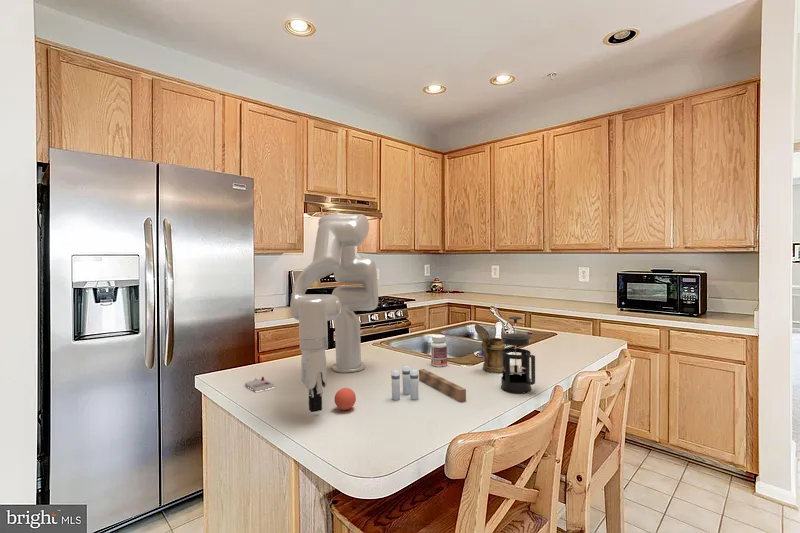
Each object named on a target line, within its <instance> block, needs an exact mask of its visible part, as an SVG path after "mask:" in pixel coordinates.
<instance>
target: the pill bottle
mask: <svg viewBox="0 0 800 533" xmlns="http://www.w3.org/2000/svg"><path fill="white" fill-rule="evenodd" d="M447 346H448V344H447V342H446V335H443V334H433V335H431V343H430V356H431V357H430V359H431V360H430V362H431V366H432V367H435V366H436V367H437V368H438V367H439V368H440V367H442V366H443V367H446V366H448V347H447Z"/></svg>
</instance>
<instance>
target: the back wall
mask: <svg viewBox="0 0 800 533" xmlns="http://www.w3.org/2000/svg"><path fill="white" fill-rule="evenodd" d="M418 381H421V382H422V383H424V384H425V385H427V384H428V386H429V387H432V388H433V389H435V390H436V391H439V392H440V391H441V393H442V392H443V393H442V394H444V395H447V396H448V397H450V398H451V399H453V398H454V399H453V400H456V401H458V402H459V403H463V402H467V389H466V388H465V387H462V386H461V385H458V384H456V383H454V382H452V381H449V380H447V379H445V378H444V377H441V376H439V375H437V374H435V373H433V372H431V371H429V370H427V369H425V368H422V369H418Z"/></svg>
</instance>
